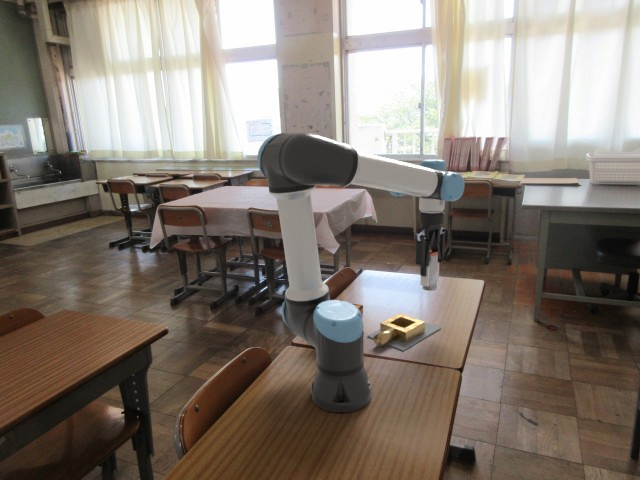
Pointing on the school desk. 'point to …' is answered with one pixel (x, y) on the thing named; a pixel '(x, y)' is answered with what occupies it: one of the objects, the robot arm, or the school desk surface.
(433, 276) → the copper-capped silver cylinder
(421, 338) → the mat
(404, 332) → the fitting socket
